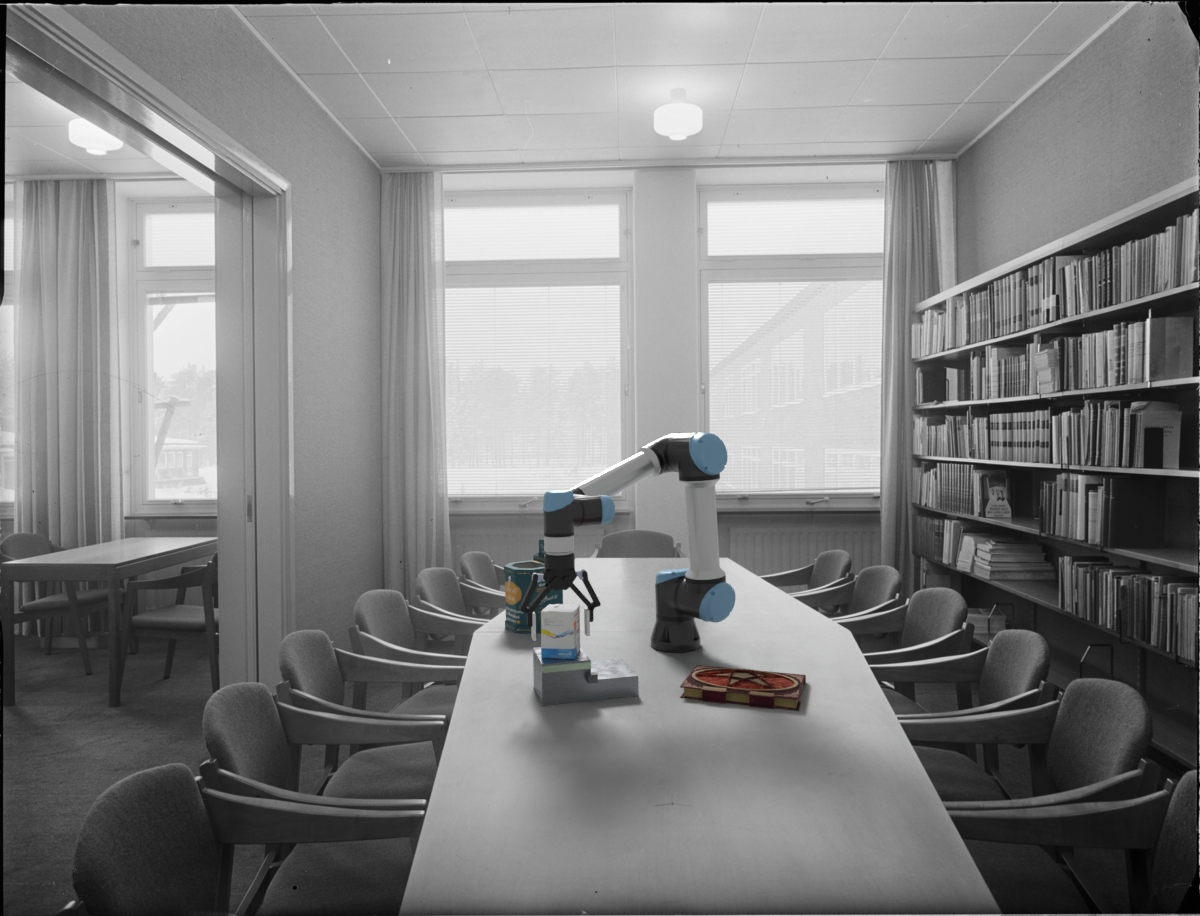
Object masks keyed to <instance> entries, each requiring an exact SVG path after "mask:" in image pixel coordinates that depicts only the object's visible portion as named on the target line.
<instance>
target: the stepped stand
mask: <svg viewBox="0 0 1200 916" xmlns="http://www.w3.org/2000/svg"><path fill="white" fill-rule="evenodd" d="M532 656H533V657H532V659H533V666H532V667H533V687H534V690H535V692H536V695H537V696H538V699H539V701H540V704H541V705H542V706H543V707H544V706H551V705H561V704H571V703H580V702H590V701H591V702H592V701H601V700H602V701H603V700H609V699H611V700H612V699H620V698H630V697H638V696H639V694H640V693H639V692H640V691H639V675H638V673H636V671H634V669H633V668H632V667H631V666H630V665H629V664H628V663H627V661H626V660H625V659H624V658H620V659H617V658H616V659H610V660H609V659H608V660H597V661H591V658H590V657H589V656H588V655H587V653H586V651H585V650H584V649H583V648H582V646H581V645H580V650H579V652H578V654H577V655H576V657H575V658H574V659H557V658H542V657H541V646H539V647H532Z"/></svg>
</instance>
